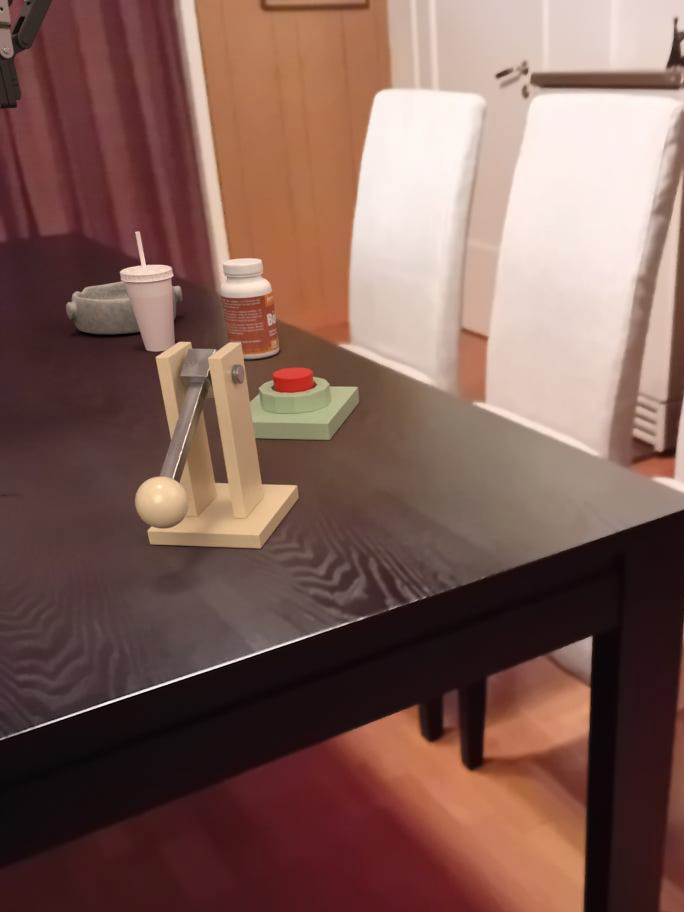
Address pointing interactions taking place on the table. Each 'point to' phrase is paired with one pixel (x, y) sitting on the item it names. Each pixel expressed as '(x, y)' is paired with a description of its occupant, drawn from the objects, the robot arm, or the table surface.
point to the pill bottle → (249, 308)
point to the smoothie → (151, 301)
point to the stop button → (293, 380)
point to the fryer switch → (244, 496)
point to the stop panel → (302, 411)
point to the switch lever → (177, 448)
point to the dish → (107, 309)
